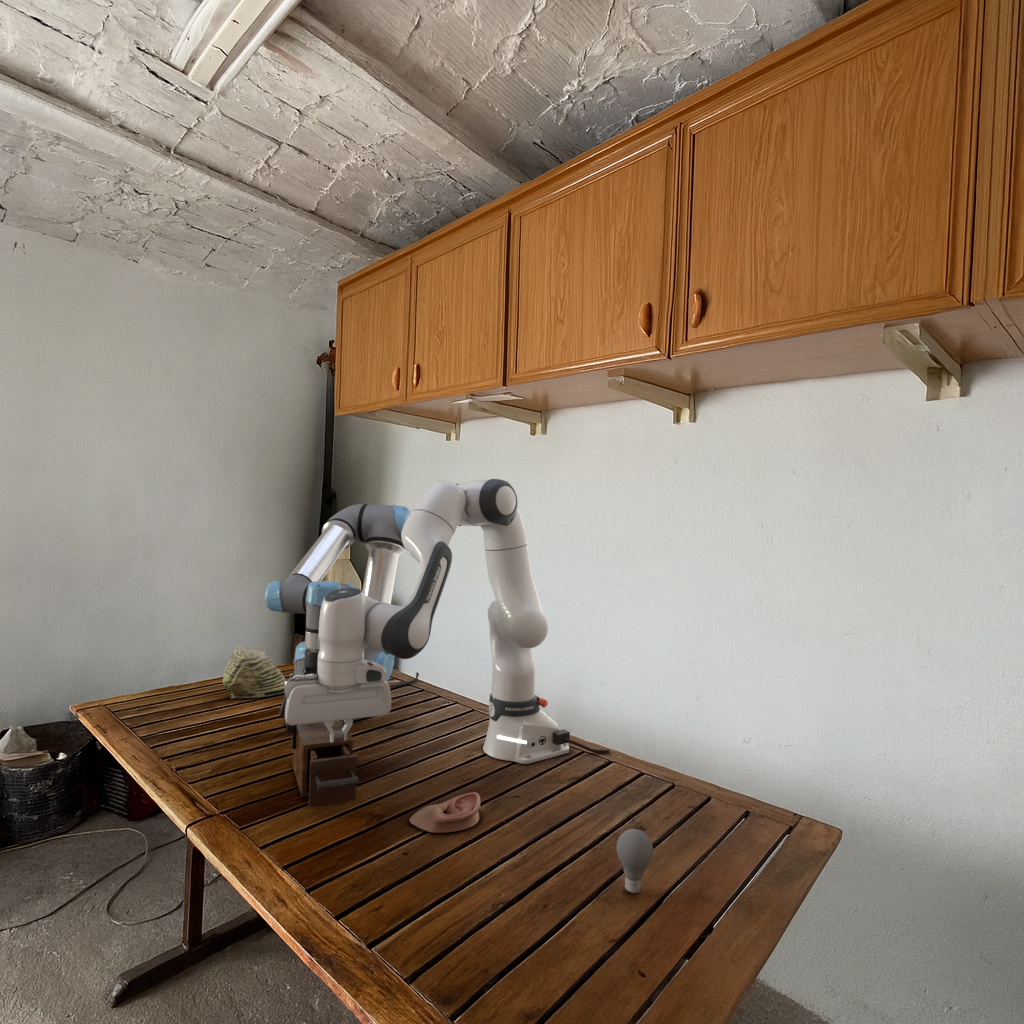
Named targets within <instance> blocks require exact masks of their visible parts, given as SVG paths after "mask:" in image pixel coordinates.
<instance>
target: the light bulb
mask: <svg viewBox="0 0 1024 1024" xmlns="http://www.w3.org/2000/svg"><path fill="white" fill-rule="evenodd" d="M615 849H616V854H617V857H618V859H619V861H620V863H621V865H622V867H623V873H624V874H623V875H624V876H625V878H624V888H625V890H627V891H628V892H630V893H634V894H635V893H639V892H640V891H641V889H642V887H641V886H642V879H643V877H644V875H645V871H646V868H647V867H648V866H649V864H650V863H651V861H652V859H653V855H654V847H653V843H652V841H651V838H649V836H648V835H647V834H646V833H645V832H643V831H642V830H641V829H636V828H629V829H627V830H625V831H623V832H622V833H621V834H620V835H619V837H618V839H617V841H616V847H615Z"/></svg>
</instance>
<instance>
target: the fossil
mask: <svg viewBox="0 0 1024 1024" xmlns="http://www.w3.org/2000/svg"><path fill="white" fill-rule="evenodd" d="M222 676H223V677H222V685H223V687H224V688H225V690H226V691H228V693H229V698H230V699H250V698H264V697H271V696H275V695H281V694H284V686H285V683H286V681H287V680H286V678H285V676H284V674H283V673H282V672H281V669H279V668H278V667H277V665H276V663H275V662H274V660H273V659H272V658H271V657H270V656H269V655H268V654H267V653H266V652H265V650H264V649H263V648H260V647H258V648H251V647H247V646H246V647H245V646H238V647H237V648H236V649H235V650H233V651H232V653H231V656H230V657H229V659H228V660H227V663H226V666H225V668H224V671H223V675H222Z"/></svg>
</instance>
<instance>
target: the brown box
mask: <svg viewBox="0 0 1024 1024" xmlns="http://www.w3.org/2000/svg"><path fill="white" fill-rule="evenodd" d="M343 727H344V723H343V722H342V720H338V721H334V726H331V728H332V729H333V731H340V730H342V729H343ZM337 745H345V746H346V748H347V749H348V751H349V753H350V755H353V751H354V750H353V747H354V739H353V737H352V735H351V733H350V732H349V731H348V732H347V736H346V741H344V742H335V743H331V742H330V732H329V731H328V729H327V727H326V725H325V722H319V723H310V724H301V725H297V732H296V749H292V759H291V761H292V762H291V763H292V764H291V766H292V769H293V772H294V776H295V779H296V782H297V783H296V784H297V786H298V789H299V793H300V796H301V798H307V797H309V788H308V785H307V764H308V749H313V748H321V747H329V746H337Z"/></svg>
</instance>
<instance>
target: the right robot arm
mask: <svg viewBox="0 0 1024 1024" xmlns="http://www.w3.org/2000/svg"><path fill="white" fill-rule="evenodd" d="M410 512H411V513H410V515H409V516H408V518H407V520H406V522H405V524H404V526H403V529H402V533H401V538H402V543H403V545H404V547H405V551H406V552H407V553H408V555H410V557H412V558H413V559H414V560H415V561H416V562H418V563H419V564H420V571H419V573H418V576H417V579H416V582H415V584H414V587H413V590H412V592H411V594H410V596H409V597H410V598H409V600H408V601H406V602H405V603H404V604H402V605H395V604H392V603H391V604H388V603H384V602H379V601H377V600H374V599H372V598H370V597H368V596H366V595H365V594H363V592H362V589H360V588H357V587H356V588H357V589H356V588H344V589H343V588H342V589H337V590H334V591H331V592H330V593H328V594H327V595H326V596H325V597H324V599H323V602H322V605H321V610H320V618H319V639H320V650H319V653H318V664H317V673H315V674H306V675H294V676H293V677H292V678H290V679H289V678H288V679H287V680H286V683H285V686H284V692H283V694H284V696H285V697H286V698H287V700H286V706H285V718H284V720H285V723H286V722H287V723H288V724H289V725H301V724H310V723H319V722H325V725H326V727H327V729H328V731H329V732H330V742H331V743H335V742H344V741H346V736H347V732H349V731H350V729H351V728H352V726H353V723H354V720H355V719H365V718H373V717H384V716H387V715H388V714H389V713H390V712H391V710H392V694H391V693H392V692H391V688H390V687H389V686H390V685H389V682H386V681H385V680H386V678H387V672H386V670H385V669H384V668H383V667H382V666H381V665H380V664H378V663H375V662H371V661H366V660H364V649H365V648H372V649H375V650H379V651H383V652H387V653H389V654H391V655H393V656H394V657H396V658H398V659H401V660H409V659H412V658H414V657H416V656H417V655H418V654H420V653H421V652H422V651H423V650H424V649H425V647H426V646H427V644H428V642H429V640H430V637H431V632H432V625H433V621H434V617H435V613H436V611H437V608H438V604H439V603H440V599H441V597H442V593H443V591H444V587H445V586H446V582H447V579H448V576H449V573H450V570H451V567H452V562H453V552H452V550H451V548H450V546H451V543H452V540H453V538H454V536H455V534H456V533H457V530H458V528H459V527H463V526H465V527H480V528H481V530H482V532H483V547H484V553H485V555H484V556H485V561H486V568H487V575H488V581H489V583H490V586H491V588H492V592H493V595H494V600H493V601H492V602H491V603H490V604H489V606H488V609H487V620H488V625H489V639H490V649H491V659H492V674H491V675H492V677H491V692H490V694H489V702H488V716H489V720H488V725H487V731H486V736H485V740H484V744H483V746H482V751H483V752H484V753H485V754H486V755H488V756H489V757H492V758H493V759H497V760H500V761H501V760H502V761H508V762H509V761H510V762H514V763H518V764H522V765H529V764H532V763H536V762H540V761H543V760H548V759H551V758H555V757H558V756H562V755H566V754H569V753H570V745H569V744H572V745H574V746H577V747H579V748H582V749H584V750H586V751H587V752H591V753H595V754H610V751H611V750H610V749H596V748H591V747H589V746H587V745H585V744H583V743H580V742H577V741H574V740H572V739H570V737H571V732H570V731H569V730H567V729H563V728H562V729H560V727H559V725H558V723H557V722H556V721H555V719H553V718H552V717H550V716H549V715H548V714H547V713H546V712H545V711H543V710H542V709H541V708H547V706H548V704H549V702H548V700H547V699H546V698H544V697H539V696H538V695H536V694H535V687H536V662H535V659H534V655H533V649H534V648H537V647H538V646H540V645H541V644H542V643H543V642H544V641H545V639H546V638H547V636H548V633H549V624H548V620H547V618H546V616H545V614H544V611H543V608H542V605H541V601H540V600H541V599H540V597H539V593H538V589H537V587H536V583H535V581H534V576H533V571H532V567H531V558H530V551H529V543H528V537H527V532H526V528H525V524H524V520H523V517H522V514H521V512H520V509H519V508H518V496H517V493H516V490H515V489H514V487H513V485H511V483H509V481H507V480H504V479H500V478H490V479H473V480H470V481H465V482H461V483H455V482H452V481H449V480H438V481H435V482H434V483H432V484H431V485H430V486H429V487H428V488H427V489H426V490H425V492H424V493H423V494H422V495H421V497H420V498H419V499H418V500H417V502H416V503H415V505H414V507H413V508H412V510H410ZM290 680H293V681H290ZM338 720H344V722H345V725H344V727H343V729H342V730H340V731H333V729H332V728H331V726H334V721H338Z"/></svg>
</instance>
